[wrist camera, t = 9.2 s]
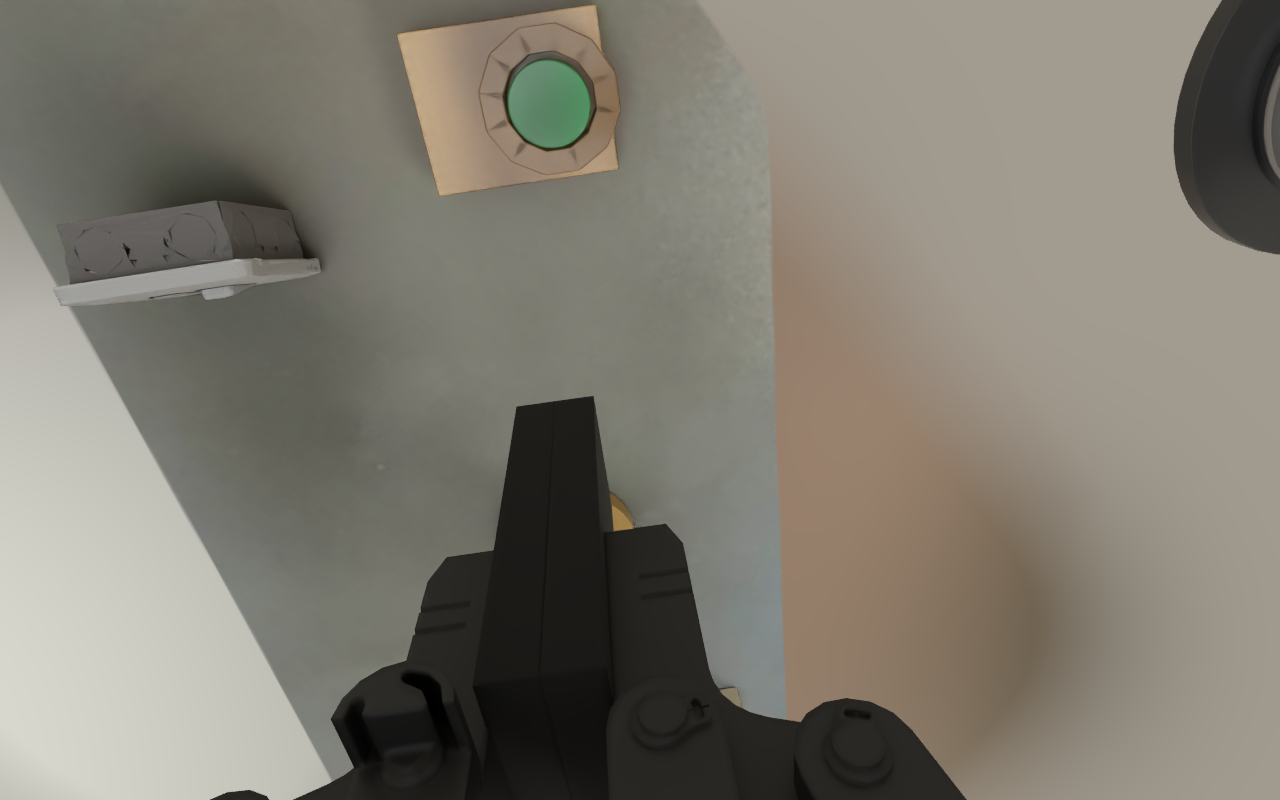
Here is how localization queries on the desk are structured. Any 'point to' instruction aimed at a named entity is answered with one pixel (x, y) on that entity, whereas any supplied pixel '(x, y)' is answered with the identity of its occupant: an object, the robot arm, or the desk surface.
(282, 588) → the desk surface
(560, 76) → the power button
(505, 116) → the power button base
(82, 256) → the electrical switch
